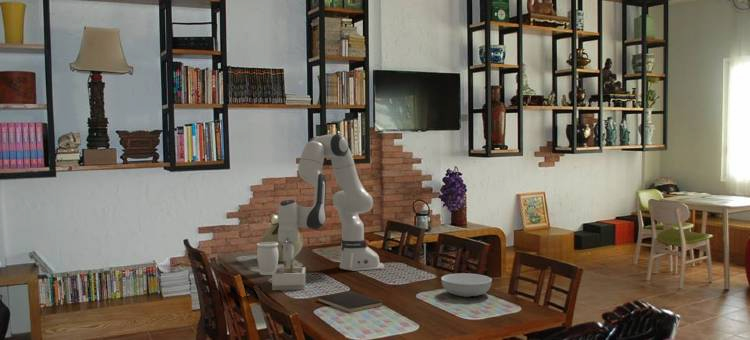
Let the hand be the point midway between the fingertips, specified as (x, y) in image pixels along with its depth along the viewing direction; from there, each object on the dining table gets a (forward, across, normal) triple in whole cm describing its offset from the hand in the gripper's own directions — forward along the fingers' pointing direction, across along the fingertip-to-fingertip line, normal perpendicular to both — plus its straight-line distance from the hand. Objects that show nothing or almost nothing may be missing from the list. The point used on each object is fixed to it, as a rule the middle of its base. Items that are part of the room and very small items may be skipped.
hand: (288, 267), depth 292 cm
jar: (+8, +28, +12) cm, 32 cm away
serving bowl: (+8, -24, -75) cm, 79 cm away
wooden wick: (+4, 0, 0) cm, 4 cm away
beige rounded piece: (+8, +64, +7) cm, 65 cm away
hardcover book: (+9, -33, -26) cm, 43 cm away
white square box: (+8, 0, 0) cm, 8 cm away
